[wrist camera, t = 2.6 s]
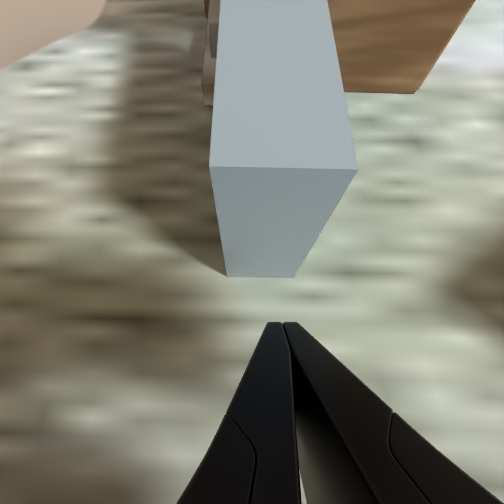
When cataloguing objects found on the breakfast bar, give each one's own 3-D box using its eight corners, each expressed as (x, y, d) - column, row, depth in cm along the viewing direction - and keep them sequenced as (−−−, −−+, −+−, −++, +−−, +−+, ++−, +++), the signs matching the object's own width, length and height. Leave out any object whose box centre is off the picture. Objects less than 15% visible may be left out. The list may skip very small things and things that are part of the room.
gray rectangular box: (293, 277, 17) (358, 169, 7) (210, 277, 17) (171, 165, 7) (281, 91, 23) (309, -96, 14) (221, 89, 23) (206, -102, 13)
